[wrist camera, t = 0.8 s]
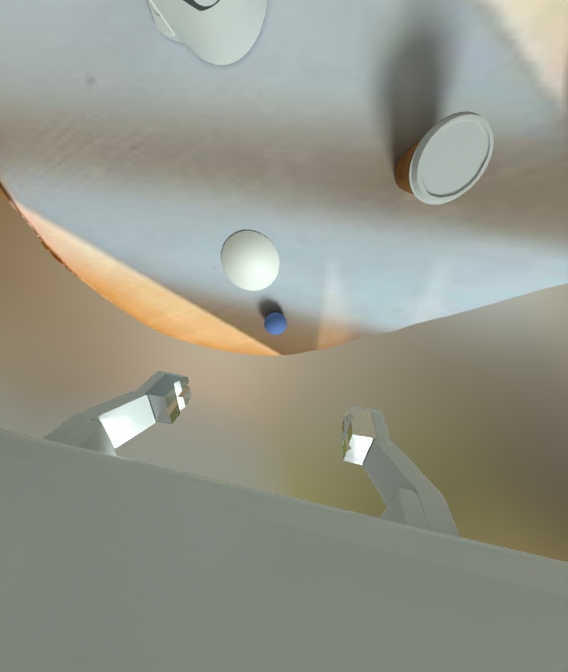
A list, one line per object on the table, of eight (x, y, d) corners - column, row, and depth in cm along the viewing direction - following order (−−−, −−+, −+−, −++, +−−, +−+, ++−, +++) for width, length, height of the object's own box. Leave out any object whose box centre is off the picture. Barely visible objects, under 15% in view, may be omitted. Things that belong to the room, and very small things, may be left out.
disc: (210, 244, 47) (210, 245, 47) (264, 220, 44) (264, 220, 43) (238, 297, 53) (238, 297, 53) (288, 279, 50) (288, 279, 50)
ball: (262, 312, 55) (258, 323, 51) (282, 305, 54) (280, 316, 49) (271, 329, 58) (268, 341, 53) (290, 323, 56) (289, 335, 52)
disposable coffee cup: (386, 141, 36) (417, 122, 26) (450, 123, 34) (510, 96, 24) (383, 206, 41) (409, 212, 31) (439, 194, 39) (485, 196, 29)
